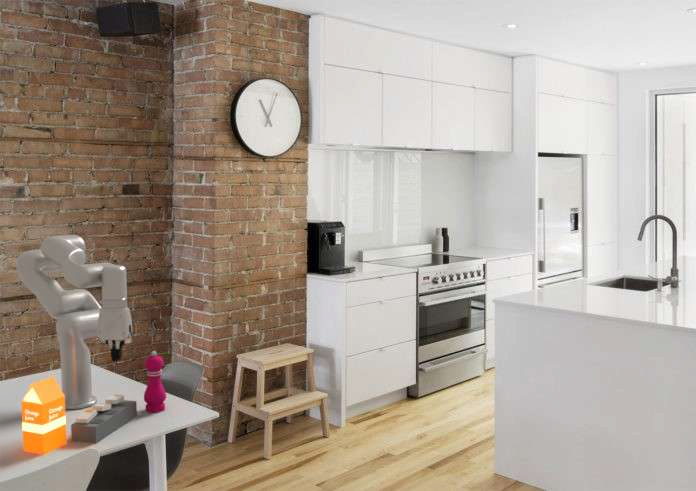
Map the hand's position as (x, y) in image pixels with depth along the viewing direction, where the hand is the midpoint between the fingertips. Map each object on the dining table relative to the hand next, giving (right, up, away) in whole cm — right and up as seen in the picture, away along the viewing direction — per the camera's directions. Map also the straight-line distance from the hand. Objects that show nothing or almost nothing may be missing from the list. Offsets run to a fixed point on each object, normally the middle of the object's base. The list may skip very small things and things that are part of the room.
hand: (116, 360), depth 227 cm
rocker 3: (0, -13, -1) cm, 13 cm away
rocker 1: (-4, -15, -16) cm, 22 cm away
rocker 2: (-2, -14, -8) cm, 16 cm away
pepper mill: (+10, -18, +9) cm, 23 cm away
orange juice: (-13, -22, -23) cm, 34 cm away
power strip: (0, -20, -5) cm, 20 cm away
